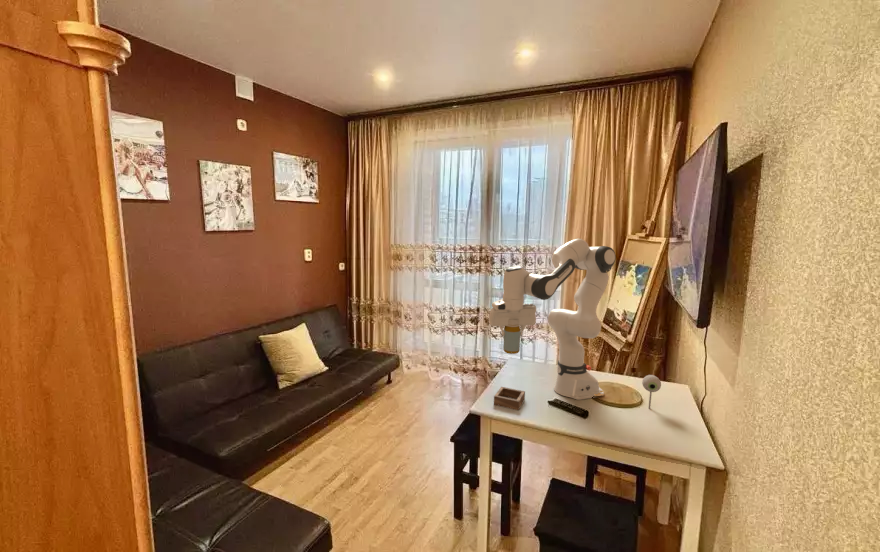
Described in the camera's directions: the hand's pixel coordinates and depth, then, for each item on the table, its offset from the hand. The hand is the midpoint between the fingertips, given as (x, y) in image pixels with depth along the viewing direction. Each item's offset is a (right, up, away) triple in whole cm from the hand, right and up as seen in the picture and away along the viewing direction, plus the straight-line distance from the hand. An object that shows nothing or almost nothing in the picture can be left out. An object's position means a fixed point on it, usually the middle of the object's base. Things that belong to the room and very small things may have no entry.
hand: (511, 335), depth 166 cm
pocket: (0, -31, +4) cm, 31 cm away
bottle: (0, -8, +1) cm, 8 cm away
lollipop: (+60, -32, 0) cm, 68 cm away
